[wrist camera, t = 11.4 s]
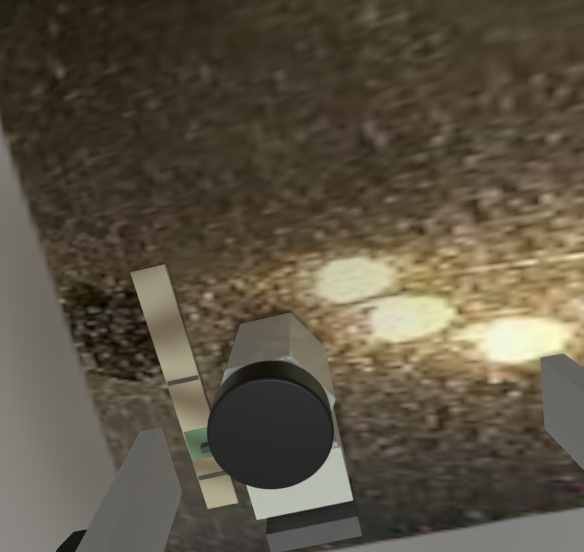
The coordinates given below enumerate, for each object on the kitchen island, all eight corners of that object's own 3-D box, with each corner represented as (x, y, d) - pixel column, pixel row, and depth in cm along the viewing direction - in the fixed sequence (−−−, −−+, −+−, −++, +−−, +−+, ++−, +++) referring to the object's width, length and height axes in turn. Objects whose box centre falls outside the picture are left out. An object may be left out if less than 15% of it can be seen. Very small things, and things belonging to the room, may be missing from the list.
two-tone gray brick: (268, 493, 43) (266, 534, 38) (349, 476, 43) (357, 516, 38) (273, 510, 44) (271, 553, 39) (354, 494, 43) (362, 535, 38)
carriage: (198, 431, 41) (183, 475, 35) (332, 403, 41) (339, 442, 35) (214, 481, 42) (202, 530, 37) (344, 454, 42) (353, 500, 36)
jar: (207, 353, 40) (173, 430, 28) (273, 292, 38) (266, 346, 27) (277, 418, 41) (272, 517, 30) (343, 362, 40) (365, 442, 28)
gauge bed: (131, 271, 38) (129, 272, 37) (165, 263, 38) (164, 264, 37) (208, 505, 43) (207, 509, 43) (238, 499, 43) (237, 503, 43)
